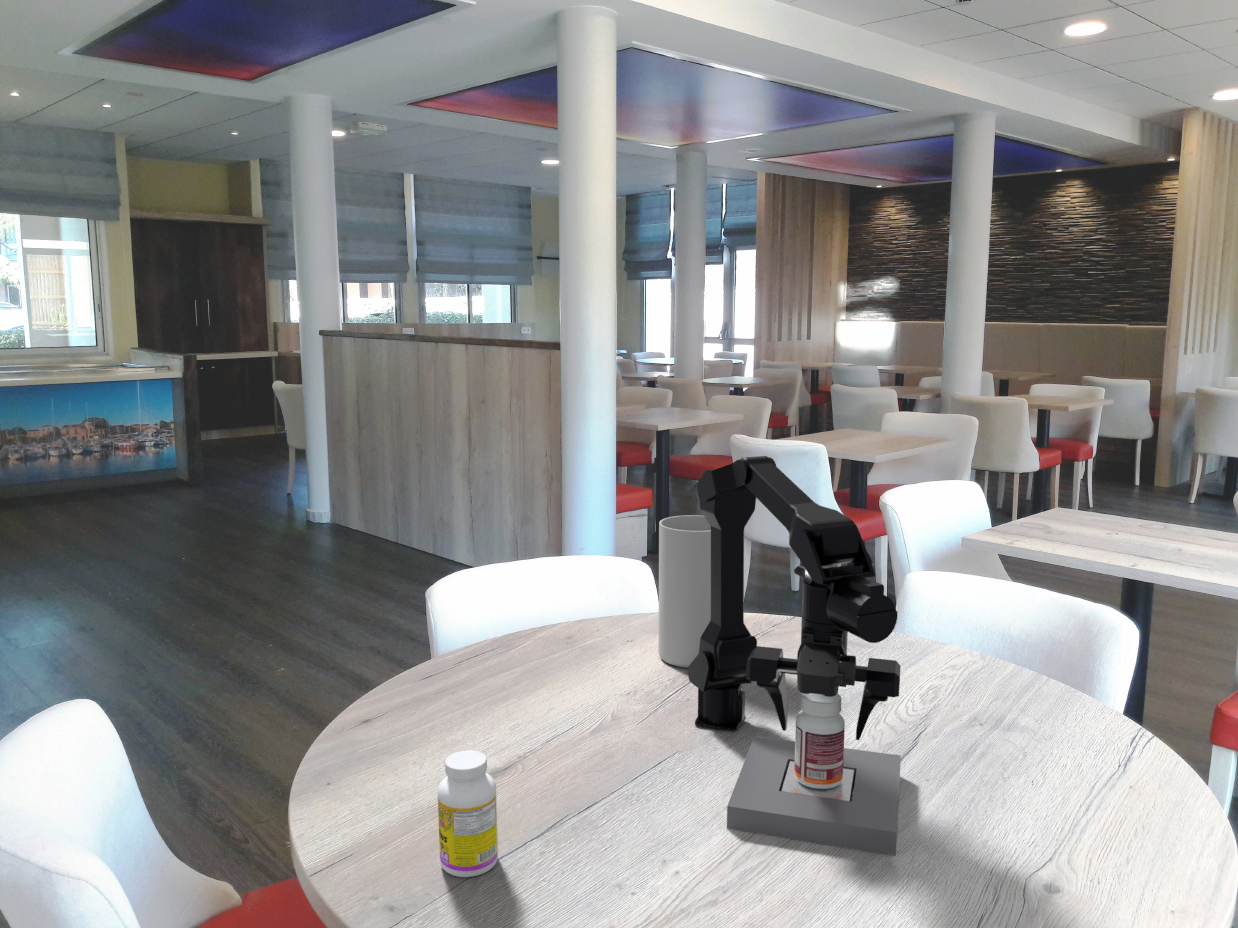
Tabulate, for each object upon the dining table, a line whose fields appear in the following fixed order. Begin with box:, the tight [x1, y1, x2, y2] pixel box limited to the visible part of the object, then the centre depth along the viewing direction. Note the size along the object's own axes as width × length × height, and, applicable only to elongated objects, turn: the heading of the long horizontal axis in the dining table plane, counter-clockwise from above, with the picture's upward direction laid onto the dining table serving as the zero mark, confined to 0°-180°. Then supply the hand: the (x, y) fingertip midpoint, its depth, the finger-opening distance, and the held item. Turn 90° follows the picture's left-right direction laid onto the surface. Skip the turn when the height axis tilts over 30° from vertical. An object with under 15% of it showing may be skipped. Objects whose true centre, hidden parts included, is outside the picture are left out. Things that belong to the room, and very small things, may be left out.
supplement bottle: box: [437, 750, 499, 878], centre depth 110 cm, size 7×7×13 cm
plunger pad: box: [782, 761, 854, 802], centre depth 124 cm, size 8×8×3 cm
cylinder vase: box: [657, 514, 711, 669], centre depth 172 cm, size 12×12×25 cm
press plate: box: [726, 735, 902, 857], centre depth 124 cm, size 20×20×3 cm
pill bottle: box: [794, 692, 846, 789], centre depth 123 cm, size 6×6×11 cm
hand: (820, 733), depth 123 cm, fingers open, 9 cm apart
